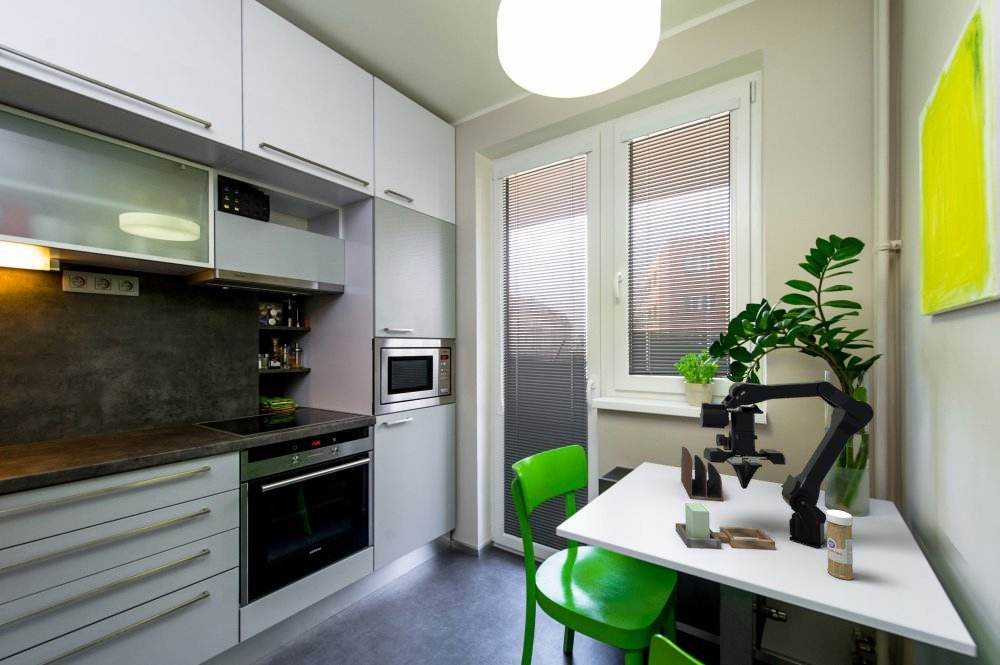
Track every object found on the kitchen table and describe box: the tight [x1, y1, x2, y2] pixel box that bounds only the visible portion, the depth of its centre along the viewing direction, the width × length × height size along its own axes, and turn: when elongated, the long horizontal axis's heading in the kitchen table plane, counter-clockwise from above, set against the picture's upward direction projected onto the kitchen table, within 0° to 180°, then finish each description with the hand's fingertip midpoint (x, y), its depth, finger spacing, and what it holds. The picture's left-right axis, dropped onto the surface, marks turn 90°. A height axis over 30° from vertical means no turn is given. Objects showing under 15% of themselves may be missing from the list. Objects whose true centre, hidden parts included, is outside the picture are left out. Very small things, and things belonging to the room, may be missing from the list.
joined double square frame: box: [675, 522, 776, 551], centre depth 111 cm, size 21×10×2 cm, turn 84°
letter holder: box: [680, 446, 724, 503], centre depth 150 cm, size 10×20×14 cm, turn 165°
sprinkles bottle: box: [825, 509, 854, 581], centre depth 94 cm, size 5×5×13 cm
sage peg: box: [684, 502, 711, 539], centre depth 112 cm, size 6×4×8 cm, turn 174°
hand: (743, 488), depth 116 cm, fingers closed
